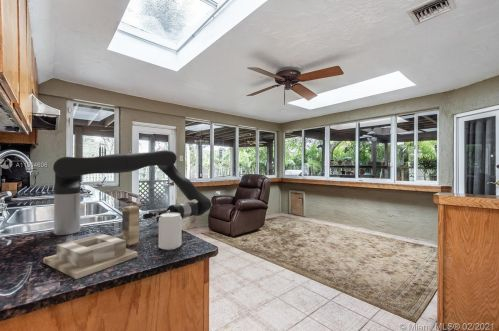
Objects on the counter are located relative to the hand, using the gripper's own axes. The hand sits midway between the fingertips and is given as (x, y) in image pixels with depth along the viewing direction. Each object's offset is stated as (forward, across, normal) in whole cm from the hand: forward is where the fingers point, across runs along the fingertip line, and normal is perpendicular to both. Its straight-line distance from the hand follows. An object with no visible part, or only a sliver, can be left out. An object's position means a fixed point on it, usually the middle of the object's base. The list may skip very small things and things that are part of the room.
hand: (150, 218), depth 99 cm
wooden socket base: (+25, +4, +8) cm, 26 cm away
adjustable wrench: (+12, -12, +9) cm, 18 cm away
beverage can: (+4, +16, +8) cm, 18 cm away
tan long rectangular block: (+9, 0, +8) cm, 12 cm away
